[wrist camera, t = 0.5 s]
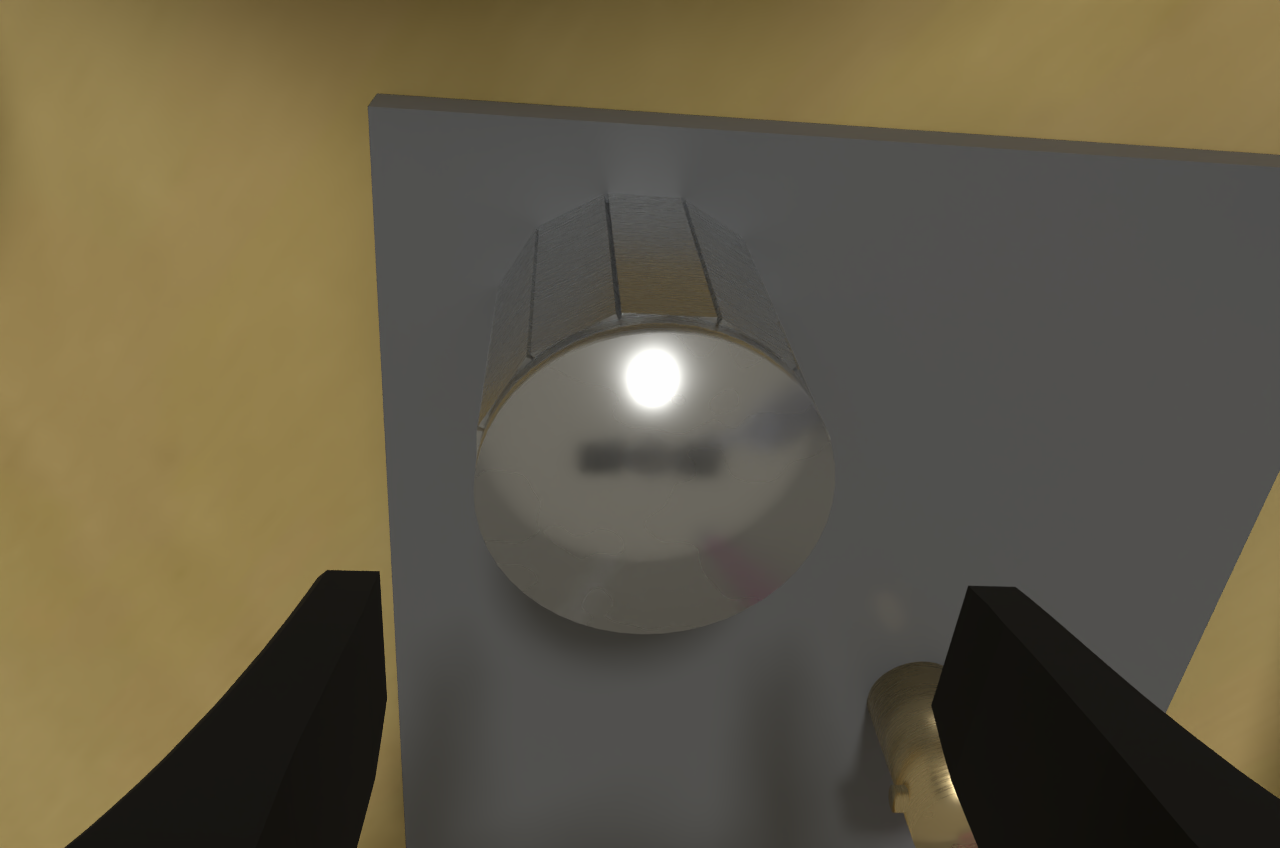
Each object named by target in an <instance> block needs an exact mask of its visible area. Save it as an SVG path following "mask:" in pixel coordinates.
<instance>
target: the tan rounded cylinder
mask: <svg viewBox="0 0 1280 848" xmlns="http://www.w3.org/2000/svg"><path fill="white" fill-rule="evenodd" d="M942 669H943V665H940V664H937V663H932V662H912V663H908V664H904V665H901V666H898V667H896V668H893V669H892V670H890V671H888V672H887V673H885V674H884V675H882V676H881V677H880V678H879V679H878V680H877V681H876V682H875V683H874V685H873V686H872V688H871V690H870V691H869V694H868V698H867V707H868V711H869V713H870V716H871V719H872V722H873V725H874V728H875V731H876V734H877V737H878V740H879V743H880V746H881V749H882V752H883V755H884V757H885V760H886V763H887V766H888V769H889V772H890V775H891V778H892V781H893V784H894V785H891V786H890V788H889V794H888V797H889V805H890V808H891V811H892V812H893V813H904V816H905V819H906V822H907V825H908V828H909V831H910V834H911V837H912V840H913V842H914V845H915V847H916V848H978V846H977V844H976V841H975V839H974V836H973V834H972V832H971V829H970V827H969V824H968V822H967V819H966V817H965V814H964V812H963V809H962V807H961V804H960V802H959V800H958V797H957V794H956V792H955V789H954V787H953V784H952V782H951V778H950V775H949V771H948V768H947V764H946V761H945V757H944V754H943V750H942V746H941V742H940V738H939V734H938V730H937V726H936V722H935V718H934V714H933V710H932V706H931V704H932V701H933V698H934V695H935V691H936V688H937V685H938V682H939V678H940V675H941V672H942Z"/></svg>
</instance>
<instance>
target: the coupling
mask: <svg viewBox="0 0 1280 848" xmlns="http://www.w3.org/2000/svg"><path fill="white" fill-rule="evenodd" d="M830 440H831V438H830V436H829V434H828V431H827V429H826V427H825V424H824V422H823V420H822V417H821V415H820V413H819V410H818V408H817V406H816V403H815V401H814V399H813V396H812V394H811V392H810V389H809V387H808V385H807V382H806V380H805V378H804V375H803V373H802V371H801V369H800V366H799V364H798V362H797V359H796V357H795V355H794V352H793V350H792V348H791V345H790V343H789V341H788V338H787V336H786V334H785V331H784V329H783V327H782V324H781V322H780V320H779V317H778V315H777V313H776V310H775V308H774V306H773V303H772V301H771V299H770V297H769V294H768V292H767V290H766V288H765V285H764V283H763V281H762V279H761V276H760V274H759V272H758V269H757V267H756V265H755V263H754V260H753V258H752V256H751V254H750V251H749V249H748V247H747V245H746V242H745V240H744V241H743V239H742V237H741V236H739V235H738V234H736V233H735V232H733V231H732V230H730V229H729V228H727V227H726V226H724V225H723V224H721V223H720V222H718V221H717V220H715V219H714V218H712V217H711V216H709V215H708V214H706V213H705V212H703V211H702V210H700V209H699V208H697V207H696V206H694V205H693V204H691V203H690V202H688V201H687V200H684V201H683V202H682V200H681V198H677V197H661V196H644V195H627V194H611V193H608V201H607V199H606V197H605V196H604V194H603V195H601V196H599V197H597V198H595V199H593V200H591V201H589V202H587V203H585V204H583V205H581V206H579V207H577V208H575V209H572V210H570V211H568V212H566V213H564V214H562V215H560V216H558V217H556V218H554V219H552V220H550V221H548V222H546V223H544V224H542V225H540V226H539V230H538V229H535V231H534V232H533V234H532V235H531V237H530V238H529V240H528V241H527V243H526V244H525V246H524V247H523V249H522V250H521V252H520V253H519V255H518V256H517V258H516V259H515V261H514V263H513V264H512V266H511V267H510V269H509V270H508V272H507V273H506V275H505V276H504V278H503V279H502V281H501V282H500V284H499V287H498V290H497V297H496V303H495V310H494V317H493V323H492V330H491V337H490V344H489V350H488V357H487V364H486V371H485V377H484V384H483V391H482V398H481V404H480V411H479V418H478V424H477V461H476V468H475V478H474V491H473V492H474V504H475V513H476V517H477V521H478V525H479V529H480V532H481V534H482V537H483V539H484V542H485V544H486V546H487V549H488V550H489V552H490V554H491V555H492V557H493V559H494V560H495V562H496V563H497V565H498V566H499V567H500V569H501V570H502V571H503V572H504V574H505V575H506V576H507V577H508V578H509V580H510V581H511V582H512V583H513V584H515V585H516V586H517V587H518V588H519V589H520V590H521V591H522V592H523V593H524V594H526V595H527V596H528V597H530V598H531V599H533V600H534V601H535V602H537V603H538V604H540V605H541V606H543V607H545V608H546V609H548V610H550V611H552V612H554V613H555V614H557V615H559V616H562V617H564V618H567V619H569V620H571V621H574V622H576V623H579V624H583V625H586V626H590V627H593V628H597V629H601V630H607V631H613V632H618V633H631V634H663V633H671V632H679V631H686V630H690V629H694V628H698V627H703V626H707V625H709V624H712V623H715V622H718V621H721V620H724V619H727V618H729V617H731V616H733V615H735V614H738V613H740V612H742V611H744V610H746V609H748V608H749V607H751V606H753V605H755V604H756V603H758V602H760V601H761V600H763V599H764V598H766V597H767V596H768V595H770V594H771V593H772V592H774V591H775V590H776V589H778V588H779V587H780V586H781V585H782V584H783V583H784V582H786V581H787V580H788V579H789V578H790V577H791V576H792V575H793V574H794V573H795V572H796V571H797V570H798V568H799V567H800V566H801V565H802V563H803V562H804V561H805V560H806V559H807V557H808V556H809V554H810V553H811V551H812V550H813V548H814V547H815V545H816V543H817V542H818V540H819V538H820V536H821V534H822V532H823V529H824V527H825V525H826V523H827V520H828V517H829V513H830V510H831V506H832V503H833V495H834V488H835V463H834V457H833V452H832V446H831V442H830Z"/></svg>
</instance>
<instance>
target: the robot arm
mask: <svg viewBox="0 0 1280 848" xmlns="http://www.w3.org/2000/svg"><path fill="white" fill-rule="evenodd" d="M386 702H387V690H386V673H385V656H384V639H383V622H382V605H381V588H380V571H341V570H327V571H325V572H324V573H323V574H322V575H320V576H319V577H318V578H317V579H316V581H315V582H314V584H313V585H312V586H311V588H310V589H309V591H308V592H307V593H306V595H305V596H304V597H303V599H302V600H301V601H300V603H299V604H298V605H297V607H296V608H295V609H294V611H293V612H292V613H291V615H290V616H289V617H288V619H287V620H286V621H285V622H284V624H283V625H282V626H281V628H280V629H279V630H278V631H277V633H276V634H275V635H274V636H273V638H272V639H271V640H270V641H269V643H268V644H267V645H266V646H265V648H264V649H263V650H262V651H261V652H260V654H259V655H258V656H257V657H256V658H255V659H254V661H253V662H252V663H251V664H250V665H249V666H248V668H247V669H246V670H245V671H244V672H243V673H242V675H241V676H240V677H239V678H238V679H237V680H236V682H235V683H234V684H233V685H232V686H231V687H230V689H229V690H228V691H227V692H226V693H225V694H224V696H223V697H222V698H221V699H220V700H219V701H218V702H217V703H216V704H215V706H214V707H213V708H212V709H211V710H210V711H209V712H208V713H207V714H206V715H205V716H204V717H203V718H202V719H201V720H200V721H199V722H198V723H197V724H196V725H195V727H194V728H193V729H192V730H191V731H190V732H189V733H188V734H187V735H186V736H185V737H184V738H183V739H182V740H181V741H180V742H179V743H178V744H177V745H176V746H175V747H174V749H173V750H172V751H171V752H170V753H169V754H168V755H167V756H166V757H165V758H164V759H163V760H162V761H161V762H160V763H159V764H158V765H157V766H156V767H155V768H153V769H152V770H151V771H150V772H149V773H148V774H147V775H146V776H145V777H144V778H143V779H142V780H141V781H140V782H139V783H138V784H137V785H136V786H135V787H134V788H132V789H131V790H130V791H129V792H128V793H127V794H126V795H125V796H124V797H123V798H122V799H120V800H119V801H118V802H117V803H116V804H115V805H114V806H113V807H112V808H110V809H109V810H108V811H107V812H106V813H105V814H104V815H103V816H101V817H100V818H99V819H98V820H97V821H96V822H95V823H94V824H92V825H91V826H90V827H89V828H88V829H87V830H85V831H84V832H83V833H82V834H81V835H79V836H78V837H77V838H76V839H74V840H73V841H72V842H71V843H70V844H68V845H67V846H66V847H65V848H357V845H358V841H359V838H360V834H361V830H362V826H363V822H364V819H365V815H366V811H367V807H368V804H369V800H370V796H371V792H372V788H373V784H374V781H375V776H376V769H377V763H378V757H379V750H380V744H381V737H382V730H383V723H384V716H385V709H386ZM931 706H932V710H933V714H934V718H935V722H936V726H937V730H938V734H939V738H940V742H941V746H942V750H943V754H944V757H945V761H946V764H947V768H948V771H949V775H950V778H951V782H952V784H953V787H954V789H955V792H956V794H957V797H958V800H959V802H960V804H961V807H962V809H963V812H964V814H965V817H966V819H967V822H968V824H969V827H970V829H971V832H972V834H973V836H974V839H975V841H976V844H977V846H978V848H1280V799H1279V798H1277V797H1276V796H1274V795H1273V794H1271V793H1270V792H1268V791H1267V790H1266V789H1264V788H1263V787H1261V786H1260V785H1259V784H1257V783H1256V782H1254V781H1253V780H1252V779H1250V778H1249V777H1247V776H1246V775H1245V774H1243V773H1242V772H1241V771H1239V770H1238V769H1236V768H1235V767H1234V766H1233V765H1231V764H1230V763H1229V762H1227V761H1226V760H1225V759H1223V758H1222V757H1221V756H1219V755H1218V754H1217V753H1215V752H1214V751H1213V750H1212V749H1210V748H1209V747H1208V746H1206V745H1205V744H1204V743H1202V742H1201V741H1200V740H1198V739H1197V738H1196V737H1195V736H1193V735H1192V734H1191V733H1189V732H1188V731H1187V730H1186V729H1184V728H1183V727H1182V726H1181V725H1179V724H1178V723H1177V722H1176V721H1174V720H1173V719H1172V718H1171V717H1169V716H1168V715H1167V714H1166V713H1164V712H1163V711H1162V710H1161V709H1159V708H1158V707H1157V706H1156V705H1155V704H1153V703H1152V702H1151V701H1150V700H1149V699H1147V698H1146V697H1145V696H1144V695H1143V694H1141V693H1140V692H1139V691H1138V690H1137V689H1135V688H1134V687H1133V686H1132V685H1131V684H1129V683H1128V682H1127V681H1126V680H1125V679H1124V678H1122V677H1121V676H1120V675H1119V674H1118V673H1117V672H1115V671H1114V670H1113V669H1112V668H1111V667H1110V666H1108V665H1107V664H1106V663H1105V662H1104V661H1103V660H1101V659H1100V658H1099V657H1098V656H1097V655H1096V654H1094V653H1093V652H1092V651H1091V650H1090V649H1089V648H1088V647H1086V646H1085V645H1084V644H1083V643H1082V642H1081V641H1079V640H1078V639H1077V638H1076V637H1075V636H1074V635H1073V634H1071V633H1070V632H1069V631H1068V630H1067V629H1066V628H1064V627H1063V626H1062V625H1061V624H1060V623H1059V622H1058V621H1056V620H1055V619H1054V618H1053V617H1052V616H1051V615H1049V614H1048V613H1047V612H1046V611H1045V610H1043V609H1042V608H1041V607H1040V606H1039V605H1038V604H1036V603H1035V602H1034V601H1033V600H1031V599H1030V598H1029V597H1028V596H1026V595H1025V594H1024V593H1023V592H1021V591H1020V590H1019V589H1018V588H1016V587H1005V586H968V588H967V591H966V594H965V598H964V601H963V604H962V607H961V610H960V614H959V617H958V620H957V623H956V627H955V630H954V633H953V636H952V640H951V643H950V646H949V649H948V652H947V656H946V659H945V662H944V665H943V669H942V672H941V675H940V678H939V682H938V685H937V688H936V691H935V695H934V698H933V701H932V704H931Z"/></svg>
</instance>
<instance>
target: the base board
mask: <svg viewBox="0 0 1280 848" xmlns="http://www.w3.org/2000/svg"><path fill="white" fill-rule="evenodd" d="M368 117H369V137H370V156H371V176H372V195H373V215H374V234H375V253H376V273H377V292H378V312H379V331H380V351H381V370H382V389H383V409H384V428H385V448H386V467H387V487H388V506H389V525H390V545H391V564H392V584H393V603H394V623H395V642H396V661H397V681H398V700H399V720H400V739H401V759H402V778H403V797H404V817H405V836H406V848H916V847H915V845H914V842H913V840H912V837H911V834H910V831H909V828H908V825H907V822H906V819H905V816H904V813H893V812H892V811H891V808H890V805H889V797H888V794H889V788H890V786H891V785H894V784H893V781H892V778H891V775H890V772H889V769H888V766H887V763H886V760H885V757H884V755H883V752H882V749H881V746H880V743H879V740H878V737H877V734H876V731H875V728H874V725H873V722H872V719H871V716H870V713H869V711H868V707H867V698H868V694H869V691H870V690H871V688H872V686H873V685H874V683H875V682H876V681H877V680H878V679H879V678H880V677H881V676H882V675H884V674H885V673H887V672H888V671H890V670H892V669H893V668H896V667H898V666H901V665H904V664H908V663H912V662H932V663H937V664H940V665H944V662H945V659H946V656H947V652H948V649H949V646H950V643H951V640H952V636H953V633H954V630H955V627H956V623H957V620H958V617H959V614H960V610H961V607H962V604H963V601H964V598H965V594H966V591H967V588H968V586H1005V587H1016V588H1018V589H1019V590H1020V591H1021V592H1023V593H1024V594H1025V595H1026V596H1028V597H1029V598H1030V599H1031V600H1033V601H1034V602H1035V603H1036V604H1038V605H1039V606H1040V607H1041V608H1042V609H1043V610H1045V611H1046V612H1047V613H1048V614H1049V615H1051V616H1052V617H1053V618H1054V619H1055V620H1056V621H1058V622H1059V623H1060V624H1061V625H1062V626H1063V627H1064V628H1066V629H1067V630H1068V631H1069V632H1070V633H1071V634H1073V635H1074V636H1075V637H1076V638H1077V639H1078V640H1079V641H1081V642H1082V643H1083V644H1084V645H1085V646H1086V647H1088V648H1089V649H1090V650H1091V651H1092V652H1093V653H1094V654H1096V655H1097V656H1098V657H1099V658H1100V659H1101V660H1103V661H1104V662H1105V663H1106V664H1107V665H1108V666H1110V667H1111V668H1112V669H1113V670H1114V671H1115V672H1117V673H1118V674H1119V675H1120V676H1121V677H1122V678H1124V679H1125V680H1126V681H1127V682H1128V683H1129V684H1131V685H1132V686H1133V687H1134V688H1135V689H1137V690H1138V691H1139V692H1140V693H1141V694H1143V695H1144V696H1145V697H1146V698H1147V699H1149V700H1150V701H1151V702H1152V703H1153V704H1155V705H1156V706H1157V707H1158V708H1159V709H1161V710H1162V711H1163V712H1164V713H1166V711H1167V709H1168V707H1169V704H1170V702H1171V700H1172V698H1173V696H1174V694H1175V692H1176V690H1177V687H1178V685H1179V683H1180V681H1181V679H1182V677H1183V675H1184V673H1185V670H1186V668H1187V666H1188V664H1189V662H1190V660H1191V658H1192V656H1193V653H1194V651H1195V649H1196V647H1197V645H1198V643H1199V641H1200V639H1201V636H1202V634H1203V632H1204V630H1205V628H1206V626H1207V624H1208V622H1209V619H1210V617H1211V615H1212V613H1213V611H1214V609H1215V607H1216V605H1217V602H1218V600H1219V598H1220V596H1221V594H1222V592H1223V590H1224V588H1225V585H1226V583H1227V581H1228V579H1229V577H1230V575H1231V573H1232V571H1233V568H1234V566H1235V564H1236V562H1237V560H1238V558H1239V556H1240V554H1241V551H1242V549H1243V547H1244V545H1245V543H1246V541H1247V539H1248V537H1249V534H1250V532H1251V530H1252V528H1253V526H1254V524H1255V522H1256V520H1257V517H1258V515H1259V513H1260V511H1261V509H1262V507H1263V505H1264V503H1265V500H1266V498H1267V496H1268V494H1269V492H1270V490H1271V488H1272V486H1273V483H1274V481H1275V479H1276V477H1277V475H1278V473H1279V471H1280V155H1273V154H1258V153H1243V152H1229V151H1214V150H1199V149H1184V148H1170V147H1155V146H1140V145H1126V144H1111V143H1096V142H1082V141H1067V140H1052V139H1037V138H1023V137H1008V136H993V135H979V134H964V133H949V132H935V131H920V130H905V129H890V128H876V127H861V126H846V125H832V124H817V123H802V122H788V121H773V120H758V119H743V118H729V117H714V116H699V115H685V114H670V113H655V112H641V111H626V110H611V109H596V108H582V107H567V106H552V105H538V104H523V103H508V102H494V101H479V100H464V99H449V98H435V97H420V96H405V95H391V94H376V96H375V97H374V99H373V100H372V101H371V103H370V104H369V106H368ZM608 193H611V194H627V195H644V196H661V197H677V198H681V200H682V202H683V201H684V200H687V201H688V202H690V203H691V204H693V205H694V206H696V207H697V208H699V209H700V210H702V211H703V212H705V213H706V214H708V215H709V216H711V217H712V218H714V219H715V220H717V221H718V222H720V223H721V224H723V225H724V226H726V227H727V228H729V229H730V230H732V231H733V232H735V233H736V234H738V235H739V236H741V237H742V239H743V241H744V240H745V242H746V245H747V247H748V249H749V251H750V254H751V256H752V258H753V260H754V263H755V265H756V267H757V269H758V272H759V274H760V276H761V279H762V281H763V283H764V285H765V288H766V290H767V292H768V294H769V297H770V299H771V301H772V303H773V306H774V308H775V310H776V313H777V315H778V317H779V320H780V322H781V324H782V327H783V329H784V331H785V334H786V336H787V338H788V341H789V343H790V345H791V348H792V350H793V352H794V355H795V357H796V359H797V362H798V364H799V366H800V369H801V371H802V373H803V375H804V378H805V380H806V382H807V385H808V387H809V389H810V392H811V394H812V396H813V399H814V401H815V403H816V406H817V408H818V410H819V413H820V415H821V417H822V420H823V422H824V424H825V427H826V429H827V431H828V434H829V436H830V438H831V440H830V442H831V446H832V452H833V457H834V463H835V488H834V495H833V503H832V506H831V510H830V513H829V517H828V520H827V523H826V525H825V527H824V529H823V532H822V534H821V536H820V538H819V540H818V542H817V543H816V545H815V547H814V548H813V550H812V551H811V553H810V554H809V556H808V557H807V559H806V560H805V561H804V562H803V563H802V565H801V566H800V567H799V568H798V570H797V571H796V572H795V573H794V574H793V575H792V576H791V577H790V578H789V579H788V580H787V581H786V582H784V583H783V584H782V585H781V586H780V587H779V588H778V589H776V590H775V591H774V592H772V593H771V594H770V595H768V596H767V597H766V598H764V599H763V600H761V601H760V602H758V603H756V604H755V605H753V606H751V607H749V608H748V609H746V610H744V611H742V612H740V613H738V614H735V615H733V616H731V617H729V618H727V619H724V620H721V621H718V622H715V623H712V624H709V625H707V626H703V627H698V628H694V629H690V630H686V631H679V632H671V633H663V634H631V633H618V632H613V631H607V630H601V629H597V628H593V627H590V626H586V625H583V624H579V623H576V622H574V621H571V620H569V619H567V618H564V617H562V616H559V615H557V614H555V613H554V612H552V611H550V610H548V609H546V608H545V607H543V606H541V605H540V604H538V603H537V602H535V601H534V600H533V599H531V598H530V597H528V596H527V595H526V594H524V593H523V592H522V591H521V590H520V589H519V588H518V587H517V586H516V585H515V584H513V583H512V582H511V581H510V580H509V578H508V577H507V576H506V575H505V574H504V572H503V571H502V570H501V569H500V567H499V566H498V565H497V563H496V562H495V560H494V559H493V557H492V555H491V554H490V552H489V550H488V549H487V546H486V544H485V542H484V539H483V537H482V534H481V532H480V529H479V525H478V521H477V517H476V513H475V504H474V492H473V491H474V478H475V468H476V461H477V424H478V418H479V411H480V404H481V398H482V391H483V384H484V377H485V371H486V364H487V357H488V350H489V344H490V337H491V330H492V323H493V317H494V310H495V303H496V297H497V290H498V287H499V284H500V282H501V281H502V279H503V278H504V276H505V275H506V273H507V272H508V270H509V269H510V267H511V266H512V264H513V263H514V261H515V259H516V258H517V256H518V255H519V253H520V252H521V250H522V249H523V247H524V246H525V244H526V243H527V241H528V240H529V238H530V237H531V235H532V234H533V232H534V231H535V229H538V230H539V226H540V225H542V224H544V223H546V222H548V221H550V220H552V219H554V218H556V217H558V216H560V215H562V214H564V213H566V212H568V211H570V210H572V209H575V208H577V207H579V206H581V205H583V204H585V203H587V202H589V201H591V200H593V199H595V198H597V197H599V196H601V195H603V194H604V196H605V197H606V199H607V201H608Z"/></svg>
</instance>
